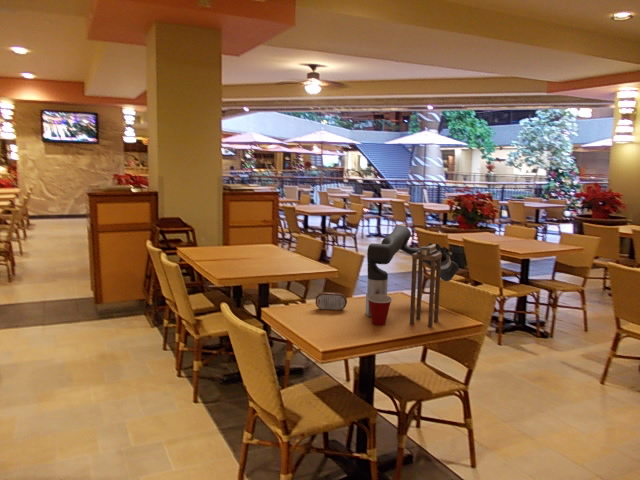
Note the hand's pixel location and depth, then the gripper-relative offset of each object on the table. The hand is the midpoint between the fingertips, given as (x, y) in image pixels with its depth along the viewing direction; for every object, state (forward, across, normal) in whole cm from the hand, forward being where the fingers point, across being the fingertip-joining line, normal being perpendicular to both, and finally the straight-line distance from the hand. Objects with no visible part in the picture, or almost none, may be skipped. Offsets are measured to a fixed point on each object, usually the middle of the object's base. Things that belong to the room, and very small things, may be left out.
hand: (433, 245), depth 237 cm
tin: (-7, -45, +35) cm, 58 cm away
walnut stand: (-9, 0, +34) cm, 35 cm away
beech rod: (+3, 0, +4) cm, 5 cm away
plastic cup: (+1, -16, +40) cm, 43 cm away
